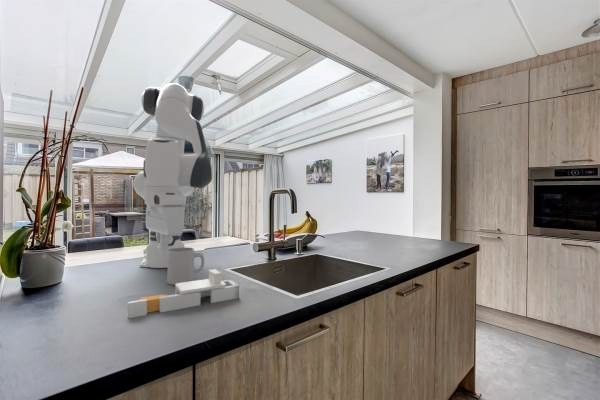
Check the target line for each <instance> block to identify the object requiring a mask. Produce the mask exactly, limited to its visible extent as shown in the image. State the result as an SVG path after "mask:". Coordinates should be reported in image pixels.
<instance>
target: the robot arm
mask: <svg viewBox="0 0 600 400" xmlns="http://www.w3.org/2000/svg"><path fill="white" fill-rule="evenodd" d="M140 101H141V106H142V108H143V111H144V112H145V114H147V115H149V116H153V117H154V118H155V121H156V124H157V127H156V133H155V137H151V138H149V139H148V140H147V143H146V149H145V156H144V157H145V158H144V160H143V167H142V169H143V171H139V172H138V173H136V175H135V176H134V178H133V183H132V186H133V189H134V192H135V193H136V194H137V195H138V196H139V197H141V198H142V199H143V200H144V205H146V209H145V210H146V211H145V227H146V229H147V230H149V243H148V244H147V245H146V247H145V248H143V255H144V257H143V259H142V261H141V263H140V264H139V265H140V266H139V267H140V268H151V269H165V268H168V250H169V249H172V248H181V247H185V245H186V244H185V243H184V242H183V241H182V240H181V239H182V235H183V233H184V229H185V228H184V227H185V208H184V207H185V206H186V204H187V197H188V196H190V195H191V194H192V193H193V192H194V191H195V189H204V188H205V187H207V186H208V185H209V184H210V183H212V181H213V178H214V169H213V164H212V162H211V159H210V157H209V156H210V155H209V153H208V149H207V144H206V140H205V136H204V132H203V128H202V125H201V123H200V121H202V118H203V116H204V114H205V105H204V101H203V99H202V98H201V97H200V96H198V95H196V94H191V93H188V91H187V89H186V88H185V87H184V86H183V85H181V84H178V83H175V82H172V83H171V82H169V83H167V84H165V85H163V87H162V88H161V87H158V86H147V87H146V88H145V89H144V91H143V92H142V94H141V100H140ZM186 141H187V142H189V143H191V144H192V149H193V154H184V153H185V143H186Z"/></svg>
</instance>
